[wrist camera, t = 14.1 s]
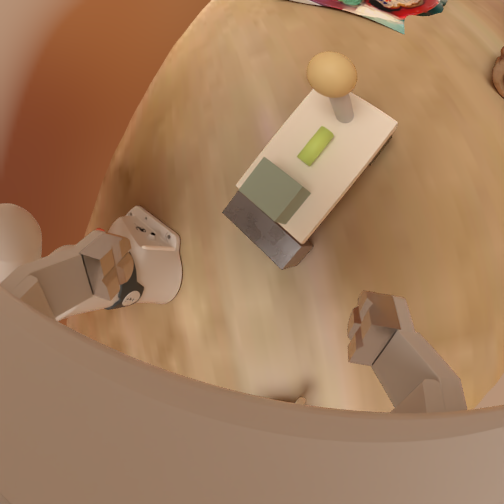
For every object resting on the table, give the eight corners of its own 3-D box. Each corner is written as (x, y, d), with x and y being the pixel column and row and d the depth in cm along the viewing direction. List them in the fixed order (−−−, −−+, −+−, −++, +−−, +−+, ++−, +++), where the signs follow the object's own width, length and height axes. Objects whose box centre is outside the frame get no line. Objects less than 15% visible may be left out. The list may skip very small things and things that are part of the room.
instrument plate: (303, 243, 35) (262, 241, 22) (240, 187, 38) (179, 163, 26) (397, 127, 29) (402, 67, 17) (325, 82, 32) (297, 20, 20)
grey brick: (244, 216, 46) (222, 212, 40) (335, 100, 38) (326, 78, 32) (296, 265, 42) (281, 269, 36) (397, 141, 34) (399, 122, 28)
